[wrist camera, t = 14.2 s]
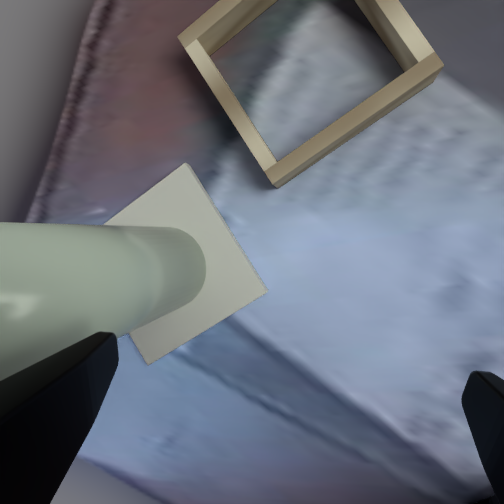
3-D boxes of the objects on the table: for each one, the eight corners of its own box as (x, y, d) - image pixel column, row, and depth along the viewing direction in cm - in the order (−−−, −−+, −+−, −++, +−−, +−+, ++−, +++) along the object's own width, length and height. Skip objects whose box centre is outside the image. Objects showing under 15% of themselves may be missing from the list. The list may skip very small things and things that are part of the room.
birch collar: (432, 82, 19) (444, 65, 17) (278, 188, 21) (272, 184, 19) (331, -63, 19) (330, -95, 17) (191, 54, 21) (177, 36, 19)
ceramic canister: (221, 281, 21) (17, 373, 8) (157, 323, 22) (-125, 469, 9) (177, 210, 22) (-93, 174, 8) (116, 255, 23) (-216, 291, 9)
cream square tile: (268, 291, 21) (266, 292, 21) (152, 362, 23) (147, 365, 23) (189, 164, 22) (185, 162, 21) (82, 244, 24) (76, 244, 23)
